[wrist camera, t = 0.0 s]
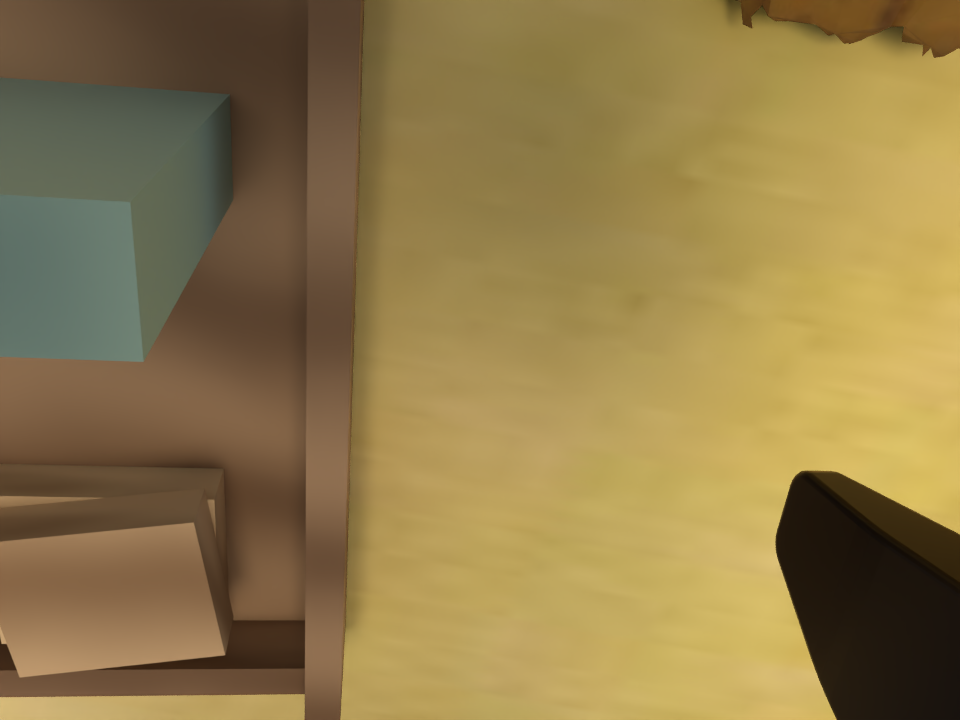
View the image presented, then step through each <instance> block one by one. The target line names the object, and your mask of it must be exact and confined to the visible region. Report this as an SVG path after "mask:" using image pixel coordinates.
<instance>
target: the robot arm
mask: <svg viewBox="0 0 960 720" xmlns="http://www.w3.org/2000/svg"><path fill="white" fill-rule="evenodd" d="M776 553H777V557H778V561H779V564H780V567H781V570H782V573H783V576H784V579H785V582H786V585H787V588H788V591H789V594H790V597H791V600H792V603H793V606H794V609H795V612H796V615H797V618H798V621H799V624H800V626H801V629H802V632H803V635H804V638H805V641H806V644H807V647H808V650H809V653H810V656H811V659H812V662H813V665H814V667H815V670H816V673H817V675H818V678H819V681H820V683H821V685H822V688H823V690H824V692H825V695H826V697H827V699H828V702H829V704H830V706H831V708H832V710H833V713H834V715H835V717H836V719H837V720H960V534H958V533H956V532H954V531H952V530H950V529H948V528H946V527H944V526H942V525H940V524H938V523H936V522H934V521H932V520H931V519H929V518H927V517H925V516H923V515H921V514H919V513H917V512H915V511H913V510H911V509H909V508H907V507H905V506H903V505H901V504H899V503H897V502H895V501H893V500H891V499H889V498H887V497H885V496H884V495H882V494H880V493H878V492H876V491H874V490H872V489H870V488H868V487H866V486H864V485H862V484H860V483H858V482H856V481H854V480H852V479H850V478H848V477H846V476H844V475H842V474H840V473H838V472H833V471H801V472H800V473H798V474H797V475H796V476H795V477H794V479H793V480H792V483H791V485H790V488H789V492H788V495H787V499H786V502H785V505H784V509H783V512H782V516H781V519H780V523H779V526H778V529H777V534H776Z"/></svg>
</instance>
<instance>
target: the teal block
mask: <svg viewBox="0 0 960 720" xmlns="http://www.w3.org/2000/svg"><path fill="white" fill-rule="evenodd" d="M232 201H233V179H232V147H231V116H230V94H218V93H204V92H191V91H177V90H163V89H150V88H136V87H122V86H109V85H95V84H81V83H68V82H54V81H41V80H27V79H13V78H0V357H20V358H47V359H75V360H103V361H131V362H144V360H145V358H146V357H147V355H148V353H149V351H150V349H151V348H152V346H153V344H154V342H155V340H156V338H157V337H158V335H159V333H160V331H161V329H162V328H163V326H164V324H165V322H166V320H167V319H168V317H169V315H170V313H171V311H172V310H173V308H174V306H175V304H176V302H177V301H178V299H179V297H180V295H181V293H182V291H183V290H184V288H185V286H186V284H187V282H188V281H189V279H190V277H191V275H192V273H193V272H194V270H195V268H196V266H197V264H198V263H199V261H200V259H201V257H202V255H203V254H204V252H205V250H206V248H207V246H208V244H209V243H210V241H211V239H212V237H213V235H214V234H215V232H216V230H217V228H218V226H219V225H220V223H221V221H222V219H223V217H224V216H225V214H226V212H227V210H228V208H229V207H230V205H231V203H232Z"/></svg>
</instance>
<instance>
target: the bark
mask: <svg viewBox="0 0 960 720" xmlns="http://www.w3.org/2000/svg"><path fill="white" fill-rule="evenodd" d="M736 1H739V2H741V9H742V20H743V25H746V26H748V27H750V28H752V22H751V16H752V15H753V14H754V13H755V12H756V11H757V10H758V9H759V8H760V7H761V6H762V5H763V7H764V9H765V11H766V13H767V15H768V16H769V17H770V18H772V19H773V20H775V21H793V22H801V23H809V24H816V25H817V26H818V27H819V28H820V29H822V30H823V31H824V32H825V33H826V34H828V35H832V34H836V35H837V36H838V37H839V38H840V40H841V41H842V42H843V43H844V44H845V43H849V44H851V43H854V42H857V41H860V40H862V39H864V38H866V37H868V36H871V35H874V34H876V33H879V32H881V31H883V30H885V29H887V28H889V27H891V26H904V30H903V35H902V42H908V43H915V44H922V45H923V54H922V56H923V55H924V54H925V53H926V52H927V51H928V50H929V49H930V48H931V50H932V53H933V57H934V58H936V57H942V56H945V55H947V54H949V53H951V52H953V51H954V50H956V49H958V48H960V0H736Z"/></svg>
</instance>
